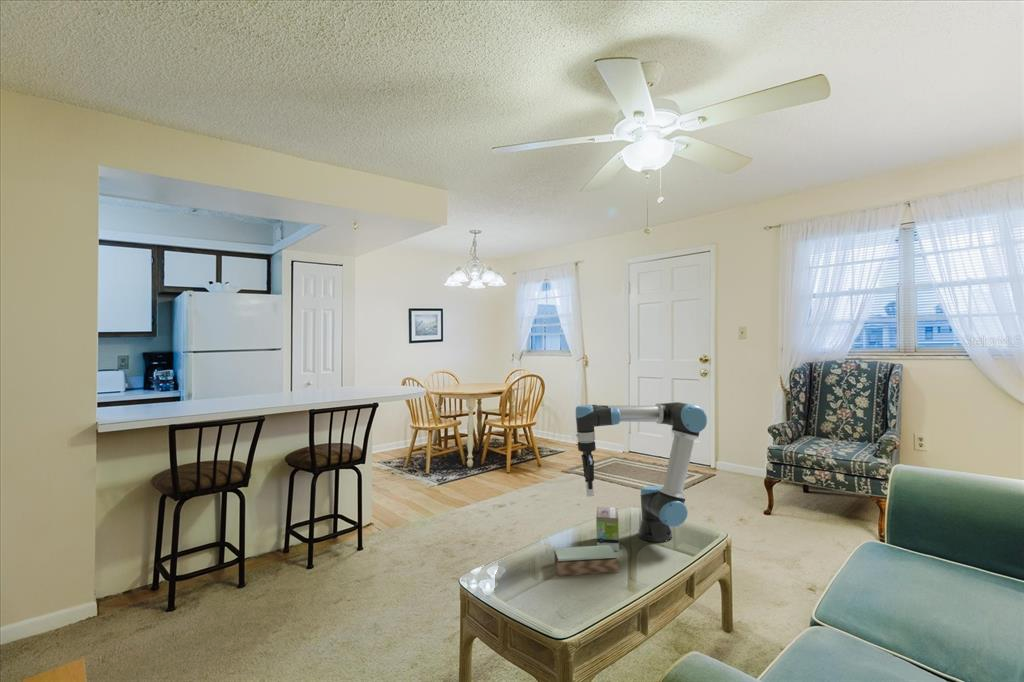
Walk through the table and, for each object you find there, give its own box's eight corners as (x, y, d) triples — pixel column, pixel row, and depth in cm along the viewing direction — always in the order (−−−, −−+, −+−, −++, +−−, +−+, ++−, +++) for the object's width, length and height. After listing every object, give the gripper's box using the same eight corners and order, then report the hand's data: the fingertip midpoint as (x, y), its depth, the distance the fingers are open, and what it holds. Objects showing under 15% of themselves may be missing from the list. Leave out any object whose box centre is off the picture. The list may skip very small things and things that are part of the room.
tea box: (620, 551, 210) (618, 517, 211) (596, 550, 212) (595, 517, 213) (619, 538, 225) (617, 506, 225) (597, 537, 227) (596, 506, 227)
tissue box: (610, 559, 203) (610, 547, 203) (618, 572, 191) (617, 559, 191) (554, 562, 201) (554, 550, 202) (558, 576, 189) (558, 562, 190)
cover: (609, 546, 203) (609, 545, 203) (617, 557, 191) (617, 555, 191) (554, 550, 202) (554, 548, 202) (558, 561, 190) (558, 559, 190)
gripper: (574, 439, 213) (578, 492, 213) (581, 444, 200) (585, 501, 200) (591, 437, 214) (594, 490, 213) (598, 443, 201) (602, 499, 200)
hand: (590, 495), depth 207 cm, fingers closed
